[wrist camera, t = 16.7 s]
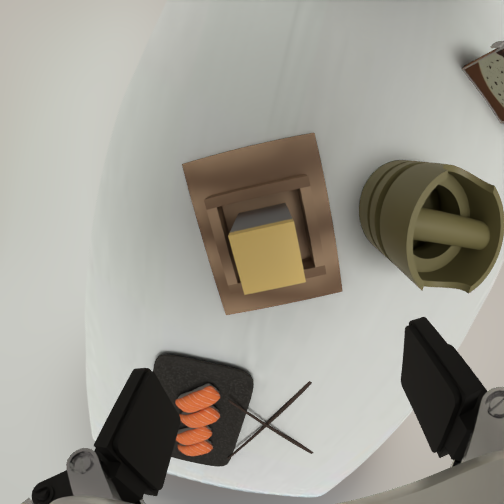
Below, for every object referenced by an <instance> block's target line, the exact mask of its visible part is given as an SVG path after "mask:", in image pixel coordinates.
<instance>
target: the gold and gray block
mask: <svg viewBox="0 0 504 504" xmlns="http://www.w3.org/2000/svg"><path fill="white" fill-rule="evenodd" d="M228 237H229V241H230V245H231V248H232V252H233V255H234V259H235V263H236V266H237V270H238V274H239V277H240V281H241V284H242V288H243V291H244V295H246V294H252V293H257V292H262V291H266V290H271V289H276V288H281V287H286V286H290V285H295V284H300V283H304V282H306V280H305V275H304V269H303V264H302V259H301V254H300V249H299V244H298V239H297V234H296V229H295V224H294V221H293V218H292V216H291V214H290V212H289V210H288V207H287V205H286V203H282V204H277V205H273V206H268V207H264V208H259V209H255V210H251V211H246V212H242V213H238V215H237V218H236V220H235V222H234V224H233V226H232V229H231V231H230V233H229V235H228Z"/></svg>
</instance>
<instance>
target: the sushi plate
mask: <svg viewBox="0 0 504 504" xmlns="http://www.w3.org/2000/svg"><path fill="white" fill-rule="evenodd" d="M153 372H154V373H155V374H156V376H157V378H158V380H159V381H160V383H161V385H162V387H163V388H164V390H165V392H166V394H167V395H168V397H169V399H170V401H171V402H172V404H173V406H174V407H175V409H176V411H177V412H178V414H179V416H180V419H181V423H180V427H179V430H178V434H177V437H176V441H175V444H174V448H173V452H172V455H171V457H174V458H177V459H181V460H185V461H190V462H194V463H199V464H204V465H210V466H225V465H226V464H228V462H229V461H230V459H231V457H232V456H233V455H234V454H235V453H237V452H238V451H239V450H240V449H241V448H243V447H244V446H245V445H246V444H247V443H248V442H250V441H251V440H252V439H253V438H254V437H255V436H256V435H258V434H259V433H260V432H261V431H262V430H263V429H264V428H266V427H268V428H269V429H271V430H272V431H274V432H276V433H277V434H279V435H280V436H282V437H283V438H285V439H287V440H288V441H290V442H292V443H293V444H295V445H297V446H298V447H300V448H302V449H304V450H305V451H307V452H309V453H311V454H312V453H313V452H312V451H310V450H309V449H308V448H306V447H305V446H303V445H302V444H300V443H299V442H297V441H295V440H293V439H292V438H290V437H288V436H286V435H284V434H283V433H281V432H279V431H278V430H276V429H274V428H273V427H271V426H269V424H270V423H271V422H272V421H273V420H274V419H276V418H277V417H278V416H279V415H280V414H281V413H282V412H283V411H284V410H285V409H286V408H287V407H288V406H290V405H291V404H292V403H293V402H294V401H295V400H296V399H297V398H298V397H299V396H300V395H301V394H302V393H303V392H304V391H305V390H306V389H307V388H308V387H309V385H310V384H311V383H312V382H310V381H309V382H308V383H307V384H306V385H305V386H304V387H303V388H302V389H301V390H300V391H298V392H297V393H296V394H295V395H294V396H293V397H292V398H291V399H290V400H289V401H288V402H287V403H286V404H285V405H284V406H283V407H282V408H281V409H280V410H279V411H278V412H277V413H276V414H275V415H274V416H273V417H272V418H271V419H270V420H269V421H268V422H267V423H264V422H263V421H261V420H260V419H258V418H257V417H255V416H254V415H252V414H251V413H249V412H248V411H247V409H248V406H249V403H250V399H251V396H252V392H253V379H252V377H251V375H249V374H248V373H246V372H244V371H242V370H239V369H236V368H232V367H228V366H224V365H219V364H215V363H210V362H205V361H201V360H197V359H192V358H187V357H183V356H177V355H169V354H167V355H160V356H159V357H158V358H157V359H156V361H155V364H154V369H153ZM246 414H248V415H249V416H251V417H252V418H254V419H255V420H257V421H258V422H260V423H261V424H263V425H264V426H262V427H261V428H260V429H259V430H258V431H257V432H256V433H255V434H254V435H253V436H252V437H251V438H250V439H248V440H247V441H246V442H245V443H244V444H243V445H242V446H240V447H239V448H238V449H237V450H236V451H235V452H234V453H233V451H234V448H235V445H236V442H237V439H238V436H239V433H240V430H241V427H242V424H243V421H244V418H245V415H246Z"/></svg>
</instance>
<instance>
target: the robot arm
mask: <svg viewBox="0 0 504 504" xmlns="http://www.w3.org/2000/svg"><path fill="white" fill-rule="evenodd" d="M401 384H402V387H403V389H404V391H405V393H406V396H407V398H408V400H409V402H410V404H411V406H412V408H413V410H414V412H415V414H416V416H417V419H418V421H419V423H420V425H421V428H422V430H423V432H424V434H425V436H426V439H427V441H428V443H429V446H430V448H431V450H432V452H434V453H435V452H437V453H438V456H439V458H441V457H443V456H445V455H447V454H449V455H450V457H451V459H453V462H452V464H451V467H450V468H449V469H446V470H444V471H441V472H439V473H436V474H434V475H431V476H429V477H426V478H424V479H421V480H418V481H416V482H413V483H410V484H407V485H404V486H401V487H398V488H395V489H392V490H389V491H385V492H382V493H379V494H375V495H371V496H368V497H364V498H360V499H356V500H351V501H347V502H342V503H338V504H504V387H496V388H493V389H491V390H489V391H488V392H487V390H486V389H485V387H484V386H483V385H482V383H481V382H480V381H479V379H478V378H477V377H476V375H475V374H474V373H473V371H472V370H471V369H470V367H469V366H468V365H467V364H466V362H465V361H464V359H463V358H462V357H461V356H460V355H459V353H458V352H457V351H456V349H455V348H454V347H453V346H452V345H449V344H447V343H446V341H445V340H444V339H443V338H442V336H441V335H440V334H439V333H438V332H437V330H436V329H435V328H434V327H433V326H432V324H431V323H430V322H429V321H428V320H427V318H425V317H421V318H418V319H415V320H412V321H410V322H409V326H406V328H405V338H404V352H403V364H402V373H401ZM180 423H181V419H180V416H179V414H178V412H177V411H176V409H175V407H174V406H173V404H172V402H171V401H170V399H169V397H168V395H167V394H166V392H165V390H164V388H163V387H162V385H161V383H160V381H159V380H158V378H157V376H156V374H155V373H154V372H152V371H151V370H150V369H149V368H139V369H134V370H133V371H132V373H131V375H130V377H129V379H128V380H127V382H126V384H125V386H124V388H123V390H122V391H121V393H120V395H119V397H118V399H117V401H116V403H115V405H114V407H113V408H112V410H111V412H110V414H109V416H108V418H107V420H106V422H105V424H104V426H103V428H102V430H101V432H100V434H99V436H98V438H97V440H96V442H95V444H94V446H95V447H96V449H95V451H93V450H92V449H88V448H82V449H79V450H77V451H75V452H74V453H72V454H71V455H70V457H69V459H68V460H67V464H66V465H67V470H66V471H64V472H62V473H60V474H58V475H55V476H53V477H51V478H49V479H47V480H44V481H42V482H40V483H38V484H37V485H36V486H35V487H34V489H33V491H32V500H31V499H30V498H28V499H27V500H25V501H24V502H23V503H22V504H145V502H144V500H143V494H147V495H153V496H157V494H158V491H159V490H161V489H162V487H163V484H164V480H165V477H166V473H167V469H168V466H169V462H170V459H171V455H172V452H173V448H174V444H175V441H176V437H177V434H178V430H179V427H180Z"/></svg>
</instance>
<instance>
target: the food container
mask: <svg viewBox="0 0 504 504" xmlns="http://www.w3.org/2000/svg"><path fill="white" fill-rule="evenodd" d="M491 48H496V49H495V50H493V51H491V52H489V53H487V54H485V55H483V56H481V57H479V58H478V59H476V60H474V61H472V62H470V63H469V64H467V65H465V66H464V67H463V68H462V70H463V71H464V73H465V74H466V75H467V76H468V78H469V79H470V80H471V81H472V83H473V84H474V85H475V87H476V88H477V89H478V91H479V92H480V93H481V95H482V96H483V97H484V99H485V100H486V102H487V103H488V105H489V106H490V107H491V109H492V110H493V112H494V113H495V115H496V117H497V118H498V120H499V121H500V123H504V41H498V42H495V43H494V44H493V45H492V46H491Z"/></svg>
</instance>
